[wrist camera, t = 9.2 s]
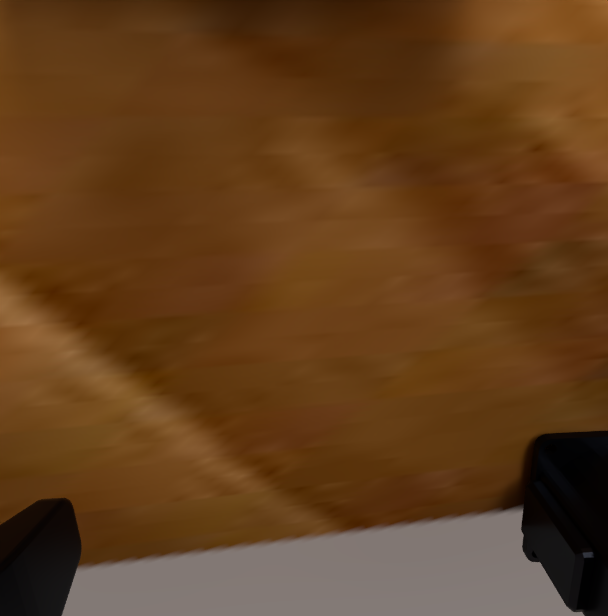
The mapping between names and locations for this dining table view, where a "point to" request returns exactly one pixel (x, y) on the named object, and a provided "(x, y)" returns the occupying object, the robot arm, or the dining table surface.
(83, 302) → the dining table surface
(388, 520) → the dining table surface
